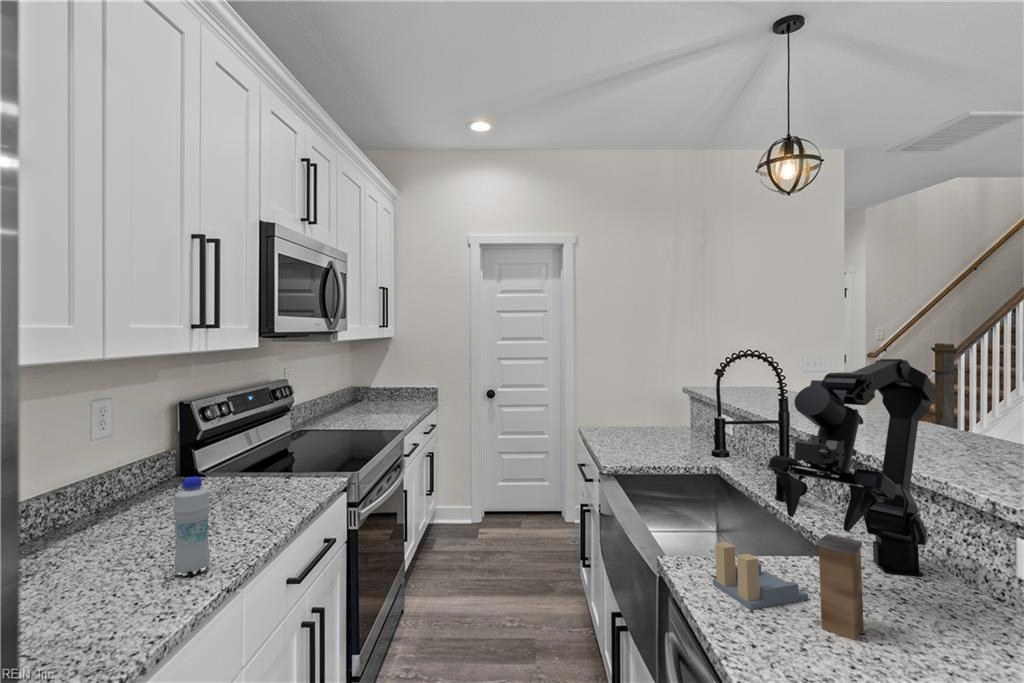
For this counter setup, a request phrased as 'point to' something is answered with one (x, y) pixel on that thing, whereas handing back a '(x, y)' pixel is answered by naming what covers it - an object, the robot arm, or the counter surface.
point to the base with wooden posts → (751, 581)
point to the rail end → (841, 585)
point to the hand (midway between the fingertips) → (816, 523)
